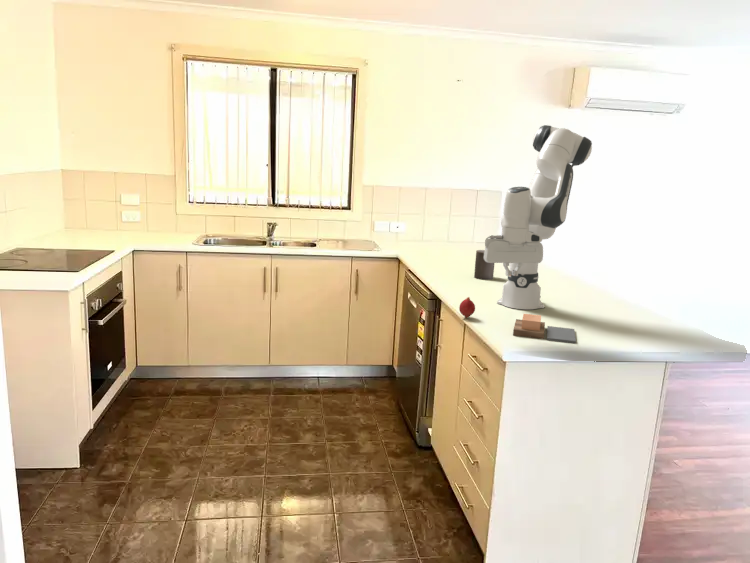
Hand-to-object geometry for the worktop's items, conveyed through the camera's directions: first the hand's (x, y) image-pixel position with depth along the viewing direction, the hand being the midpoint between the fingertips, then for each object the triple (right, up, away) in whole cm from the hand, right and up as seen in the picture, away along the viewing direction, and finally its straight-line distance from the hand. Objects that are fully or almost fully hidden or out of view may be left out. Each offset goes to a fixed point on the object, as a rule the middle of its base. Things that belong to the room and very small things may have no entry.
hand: (511, 275), depth 193 cm
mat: (+16, -20, -2) cm, 26 cm away
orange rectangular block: (+7, -17, +1) cm, 19 cm away
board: (+7, -19, +2) cm, 21 cm away
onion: (-13, -16, +17) cm, 26 cm away
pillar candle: (+9, 0, +94) cm, 94 cm away
